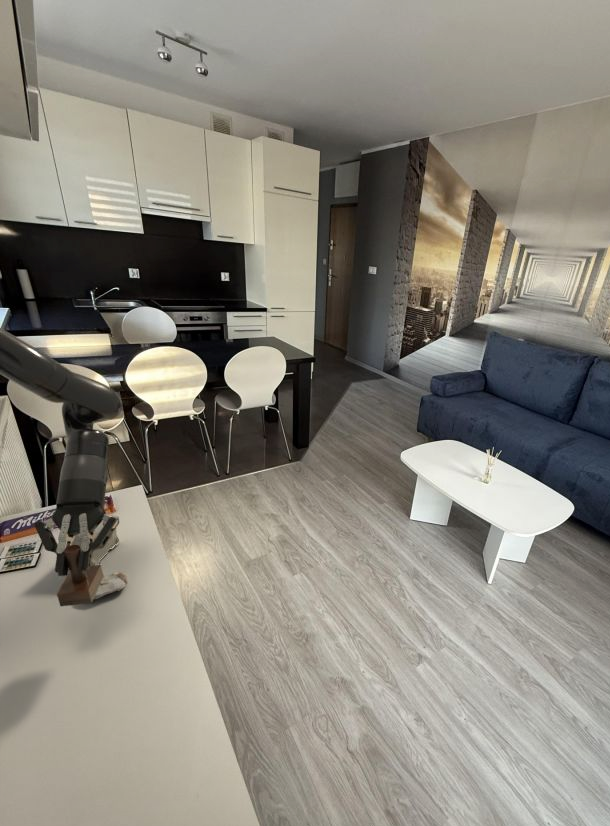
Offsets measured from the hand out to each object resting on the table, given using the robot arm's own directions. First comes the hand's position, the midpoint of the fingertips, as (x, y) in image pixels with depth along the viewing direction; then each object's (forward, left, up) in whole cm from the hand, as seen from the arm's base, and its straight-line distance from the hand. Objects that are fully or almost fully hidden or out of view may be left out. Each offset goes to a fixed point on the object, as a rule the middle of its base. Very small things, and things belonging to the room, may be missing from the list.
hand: (72, 574), depth 71 cm
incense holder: (-7, +28, -18) cm, 34 cm away
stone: (-2, +15, -18) cm, 23 cm away
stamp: (0, +2, -6) cm, 6 cm away
